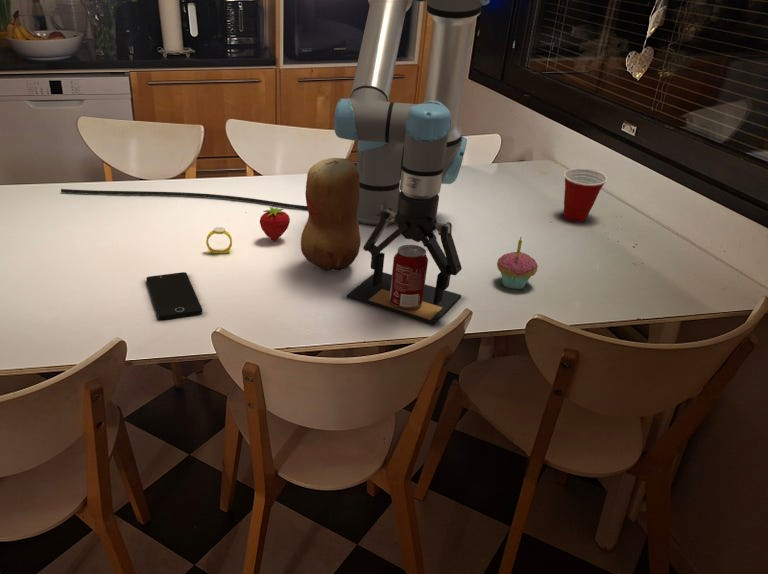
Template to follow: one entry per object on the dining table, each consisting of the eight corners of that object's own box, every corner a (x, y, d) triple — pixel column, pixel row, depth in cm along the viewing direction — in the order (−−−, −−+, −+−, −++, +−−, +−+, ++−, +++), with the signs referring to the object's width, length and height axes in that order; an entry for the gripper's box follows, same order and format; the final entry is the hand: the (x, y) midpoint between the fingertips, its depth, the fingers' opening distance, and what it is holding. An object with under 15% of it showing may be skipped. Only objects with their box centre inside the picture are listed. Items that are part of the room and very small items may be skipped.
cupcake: (526, 296, 146) (538, 245, 140) (487, 286, 150) (498, 235, 143) (537, 281, 152) (549, 231, 146) (499, 272, 156) (510, 222, 149)
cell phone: (159, 320, 136) (158, 316, 135) (146, 280, 150) (145, 276, 149) (203, 313, 138) (202, 309, 137) (186, 275, 152) (185, 271, 152)
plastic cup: (552, 222, 182) (562, 178, 175) (555, 208, 190) (565, 165, 183) (595, 228, 178) (608, 184, 172) (596, 214, 187) (608, 171, 180)
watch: (206, 255, 161) (205, 231, 158) (206, 250, 163) (205, 227, 160) (232, 254, 162) (231, 231, 158) (231, 249, 164) (231, 226, 161)
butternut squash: (291, 261, 159) (293, 154, 145) (342, 252, 164) (349, 147, 150) (316, 286, 149) (321, 174, 135) (370, 276, 153) (380, 166, 139)
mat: (346, 297, 145) (346, 294, 144) (377, 273, 155) (377, 270, 154) (433, 325, 136) (434, 321, 135) (460, 298, 145) (461, 294, 145)
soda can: (421, 313, 138) (428, 259, 131) (387, 309, 139) (393, 255, 132) (422, 297, 143) (429, 245, 137) (390, 294, 144) (395, 241, 138)
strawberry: (293, 244, 167) (293, 205, 162) (263, 248, 165) (263, 208, 160) (285, 235, 172) (285, 196, 166) (256, 238, 170) (256, 200, 164)
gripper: (351, 184, 131) (344, 283, 143) (475, 213, 120) (457, 317, 131) (370, 174, 136) (362, 270, 148) (490, 200, 125) (471, 302, 137)
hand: (406, 292), depth 140 cm, fingers open, 13 cm apart
